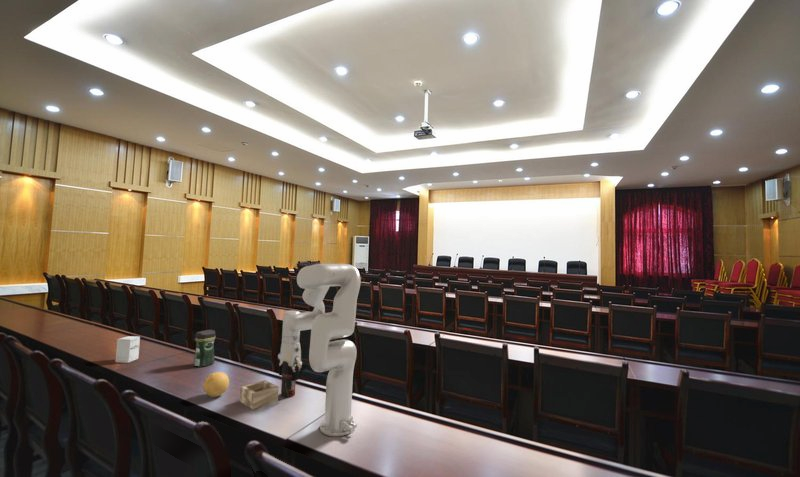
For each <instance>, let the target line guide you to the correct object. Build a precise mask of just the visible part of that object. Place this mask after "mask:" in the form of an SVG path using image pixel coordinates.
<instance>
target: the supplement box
mask: <svg viewBox="0 0 800 477" xmlns="http://www.w3.org/2000/svg"><path fill="white" fill-rule="evenodd" d="M140 340H141V336H140V335H139V336H138V335H137V336H136V335H131V336H130V335H128V336H124V337H121V338H117V339H116V352H115V363H123V364H126V363H127V364H128V363H131V362H133V361H136V360H139V356H140V355H139V354H140Z"/></svg>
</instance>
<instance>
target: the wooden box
mask: <svg viewBox="0 0 800 477" xmlns="http://www.w3.org/2000/svg"><path fill="white" fill-rule="evenodd" d="M239 389H240V392H239V402H241V403H242V404H243V405H245V406H246V407H247V408H250V409H252V410H255V409H258V408H261V407H265V406H268V405H271V404H274V403H276V402H279V386H277V385H275V384H273V383H272V382H270V381H268V380H265V379H264V380H259V381H257V382H253V383H250V384H246V385H243V386H240V388H239Z"/></svg>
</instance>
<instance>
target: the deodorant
mask: <svg viewBox="0 0 800 477" xmlns="http://www.w3.org/2000/svg"><path fill="white" fill-rule="evenodd" d="M294 364H295V363H294ZM294 364H293V365H294ZM294 367H295V368H296V366H294ZM292 372H293V370H292V367H290V366H288V363H287V362H284V361H283V365H282V375H281V384H280V386H281V387H280V397H282V398H284V399H287V398H288V399H290V398H293V397H294V396H295V395H296V381H297V380H296V381H292Z"/></svg>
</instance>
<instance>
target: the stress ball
mask: <svg viewBox="0 0 800 477" xmlns="http://www.w3.org/2000/svg"><path fill="white" fill-rule="evenodd" d="M229 385H230V378H229V376H228V375H227V374H226V373H224V372H221V371H216V372H215V371H214V372H213V373H210V374H209V375H208V376H207V377H206V378H205V379H204V381H203V386H202V389H203V392H204V393H205V395H208V396H209V397H212V398H218V397H220V396H221V395H223V394H224V393H225V392H226V391H227V389H228V387H229Z"/></svg>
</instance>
